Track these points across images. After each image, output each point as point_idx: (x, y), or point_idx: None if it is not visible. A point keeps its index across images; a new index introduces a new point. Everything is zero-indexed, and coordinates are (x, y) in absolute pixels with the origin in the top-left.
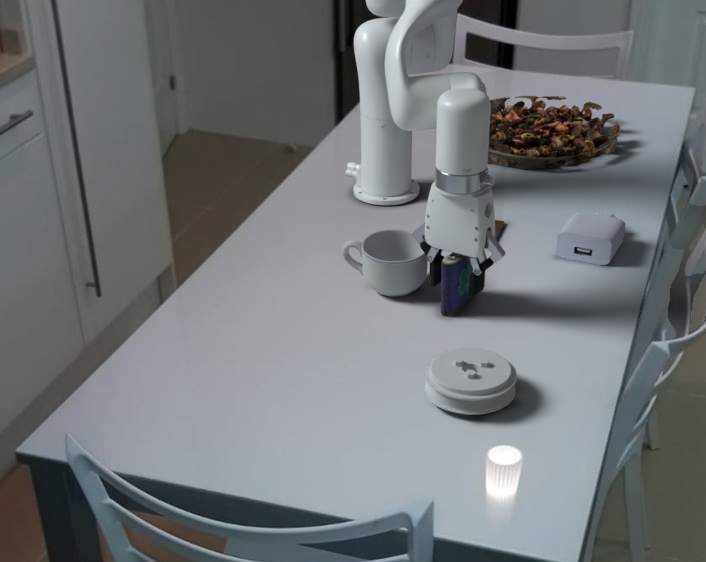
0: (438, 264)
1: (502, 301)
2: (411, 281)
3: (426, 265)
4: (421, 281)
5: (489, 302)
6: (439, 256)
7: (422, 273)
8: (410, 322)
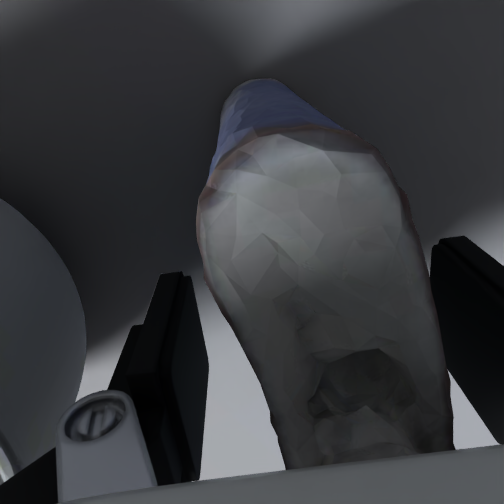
0: (192, 439)
1: (476, 53)
2: (75, 398)
3: (29, 310)
4: (80, 312)
5: (417, 111)
6: (166, 462)
7: (65, 341)
8: (227, 434)
